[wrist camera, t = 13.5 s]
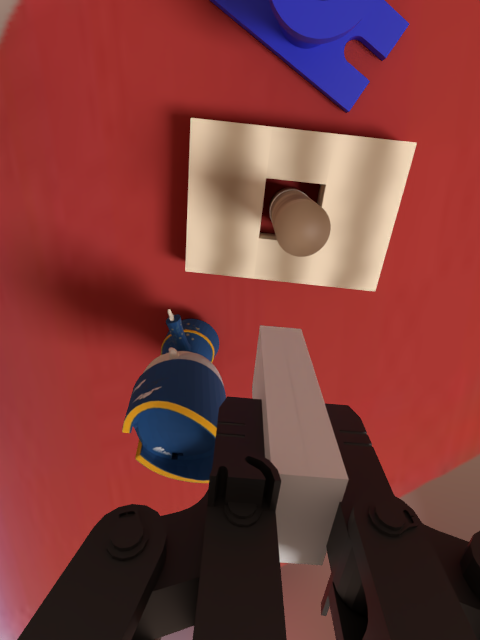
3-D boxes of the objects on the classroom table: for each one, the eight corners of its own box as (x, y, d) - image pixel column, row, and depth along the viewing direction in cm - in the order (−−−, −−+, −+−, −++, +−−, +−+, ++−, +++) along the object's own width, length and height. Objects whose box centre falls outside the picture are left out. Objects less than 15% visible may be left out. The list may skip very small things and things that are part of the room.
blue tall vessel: (149, 293, 41) (68, 401, 23) (227, 275, 40) (205, 375, 22) (183, 382, 46) (138, 528, 28) (253, 369, 45) (253, 513, 27)
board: (190, 263, 39) (185, 271, 37) (195, 120, 33) (190, 117, 31) (366, 282, 40) (375, 291, 37) (403, 143, 34) (416, 142, 31)
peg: (266, 225, 37) (271, 254, 27) (271, 184, 36) (279, 197, 25) (304, 229, 37) (325, 260, 27) (311, 189, 36) (336, 203, 25)
